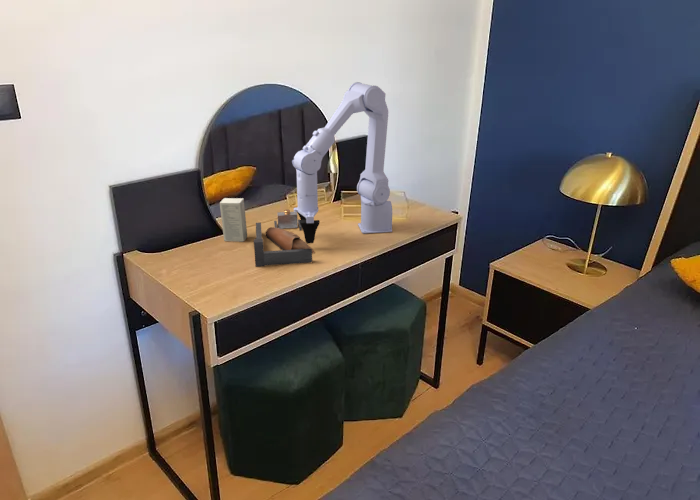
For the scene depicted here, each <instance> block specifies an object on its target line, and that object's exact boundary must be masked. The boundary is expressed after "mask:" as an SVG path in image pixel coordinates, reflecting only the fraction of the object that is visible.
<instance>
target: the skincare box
mask: <svg viewBox="0 0 700 500" xmlns="http://www.w3.org/2000/svg"><path fill="white" fill-rule="evenodd" d="M219 209H220V216H221V217H220V218H221V225H222V233H223V241H224V242H245V241H246V239H247V237H248V228H247V218H246V207H245V199H244V198H243V197H242V198H241V197H240V198H238V197H236V198H235V197H231V198H230V197H229V198H228V197H224V198H223V199H221V201H220V202H219Z"/></svg>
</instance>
